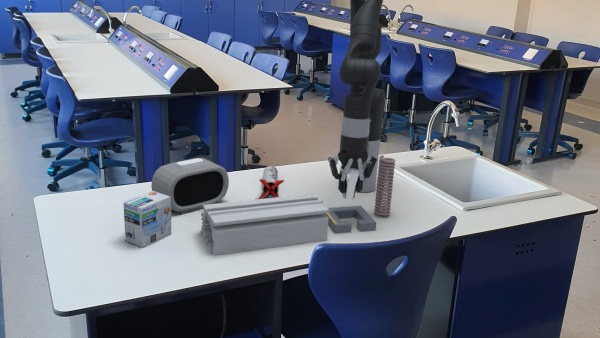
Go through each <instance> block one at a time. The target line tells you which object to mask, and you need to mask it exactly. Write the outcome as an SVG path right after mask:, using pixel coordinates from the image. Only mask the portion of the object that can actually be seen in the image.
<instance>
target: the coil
mask: <svg viewBox="0 0 600 338" xmlns="http://www.w3.org/2000/svg"><path fill="white" fill-rule="evenodd" d="M395 166H396V159H395V158H392V157H385V155H384V154H381V155H379V158H378V169H377V178H376V188H375V190H376V192H375V199H374V201H375V202H374V210H373V211H374V214H377V215H379V216H389V215H390V214H391V207H392V205H391V203H392V195H393V193H392V192H393V187H394V185H393V184H394V183H393V182H394V177H395V176H394V175H395V169H396V168H395Z"/></svg>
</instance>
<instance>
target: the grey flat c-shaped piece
mask: <svg viewBox="0 0 600 338" xmlns="http://www.w3.org/2000/svg"><path fill="white" fill-rule="evenodd" d="M327 208H328V209H329V213H324V214H325V215H326V216H327V217H328V227H329V228H330V229H331V231H332V232H333V234H345V233H346V234H347V233H352V227H353V225H352V222H351V221H350V220H341V219H349V218H355V219H356V220H357V221H356V229H357V230H358V232H372V231H377V222H376V220H375V219H374V218H373V216H371V215H370V214H369V212H368V211H366V209H364V208H363V206H362V205H353V206H337V207H327Z"/></svg>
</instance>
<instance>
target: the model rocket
mask: <svg viewBox="0 0 600 338" xmlns="http://www.w3.org/2000/svg"><path fill="white" fill-rule="evenodd" d="M262 174H263V175H262V176H263V179H259V182H260V183H261V184H262V194H261V195H260V196H259V197H258V199H265V197H267V198H275V197H280V196H279V194H278V193H279V186H280V185H282V184H283V183H285V180H284V179H280V180H279V172H278V169H277V167H276V166H273V165H268V166H266V167H265V168H264V169H263V173H262Z"/></svg>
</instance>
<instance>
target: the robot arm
mask: <svg viewBox="0 0 600 338" xmlns="http://www.w3.org/2000/svg"><path fill="white" fill-rule="evenodd" d="M383 3H384V0H349V5H350V10H349V11H350V14H349V15H350V20H349V21H350V23H349V27H350V28H349V44H348V48H347V51H346V53H345V55H344V58H343V60H342V62H341V65H340V68H339V72H338V73H339V79H340V81H341V82H342V84H343V85H348V86H349V93H348V94H347V95H345V97H344V100H343V101H344V102H343V115H342V121H341V125H340V126H341V129H340V140H339V141H340V142H339V152H338V153H337V155H336V156H334V157H332V156H329V157H328V158H327V159H328V163H329V168H330V172H331V174H332V175H331V176H332V177H333V178H334V179H335V180H338V183H337V184H338V186H337V189H338V190H339V191H338V192H340V193H341V194H342V195H343V193H345V183H346V181H345V178H346V175H347V174H348V172H349V169H351V168H353V169H358V170H359V178H358V183H357V188H356V193H357V194H358V193H370V192H373V191H375V190H376V189H377V188H376V187H377V177H378V170H379V169H378V167H379V157H380V145H381V136H382V128H383V119H384V112H385V106H386V105H385V104H386V93H385V90H384V89H381V88H376V87H377V84H378V82H379V79H380V77H381V71H382V70H381V65H380V62H379V61H377V60H376V59H377V58H378V56H379V55H380V53H381V49H382V34H383V33H382V30H383V29H382V25H381V23H380V20H379V19H380V14H381V10H382V8H383V7H382V6H383ZM338 162H340V164H341V165H340V167H339V170H338V168H337V167H338ZM344 168H345V169H344Z"/></svg>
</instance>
